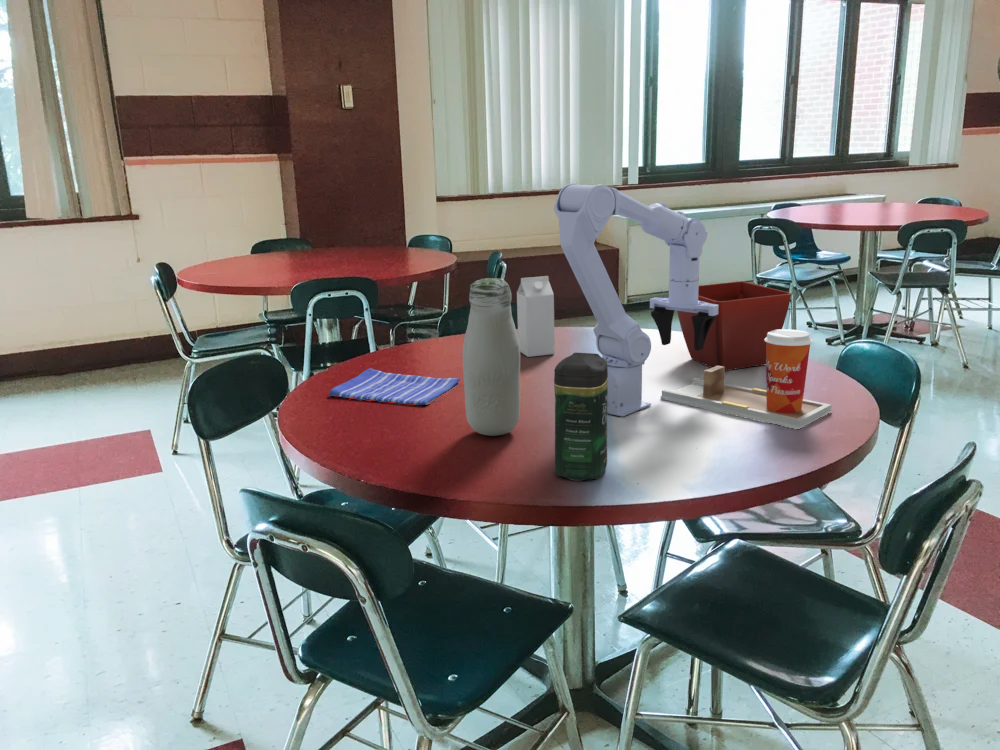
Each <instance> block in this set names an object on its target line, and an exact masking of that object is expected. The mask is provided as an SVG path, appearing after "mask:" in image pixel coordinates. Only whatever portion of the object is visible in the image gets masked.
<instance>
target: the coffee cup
mask: <svg viewBox="0 0 1000 750" xmlns="http://www.w3.org/2000/svg"><path fill="white" fill-rule="evenodd" d="M764 340H765V342H766V365H765V366H766V368H765V369H766V372H765V374H766V375H765V379H766V383H765V384H766V385H765V386H766V389H765V390H766V400H767V409H769V410H770V411H773V412H778V413H797V412H799V411H801V408H802V402H803V399H804V395H805V394H804V393H805V385H806V378H807V370H808V365H809V357H810V356H809V355H810V350H811V349H810V348H811V345H812V344H813V343H814V341H813V339H812V338H811V336H810V333H809V332H808V331H805V330H800V329H799V330H798V329H788V328H782V329H778V330H773V331H770V332H768V333H767V337H766V338H765V339H764Z"/></svg>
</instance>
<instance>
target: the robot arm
mask: <svg viewBox="0 0 1000 750" xmlns="http://www.w3.org/2000/svg"><path fill="white" fill-rule="evenodd" d="M553 210H554V213H555V214H556V217H557V219H558V227H559V228H558V230H559V241H560V242H559V243H560V246H561V250H562V252H563V254H564V256H565V258H566V260H567V262H568V264H569V266H570V268H571V271H572V272H573V274H574V276H575V279H576V281H577V283H578V285H579V287H580V289H581V291H582V293H583V295H584V297H585V299H586V301H587V303H588V305H589V308H590V310H591V311H592V314H593V316H594V318H595V320H596V322H597V323H596V324H595V325H594V328H593V333H594V336H595V344H596V349H597V351H598V352H599V353H600V354H601V355H602V356H601V357H602V358H603V359H605V360H606V362H607V364H608V367H607V368H608V395H607V414H609V415H614V416H618V417H625V416H628V415H630V414H632V413H634V412H638V411H640V410H642V409H645V408H648V407H650V406H651V405H652V402H648V401H644V400H643V399H642V398H643V365H645V364H646V363H645V361H646V360H647V359H648V358H649V356H650V354H651V352H652V341H651V338H650V336H649V335H648V334H647V333H646V332H644V331H643V330H642V329H641V327H640V324H639V323H638V322H637V321H636V320H634V319H633V318H632V317H630V316H629V315H628V314H627V312H626V311H625V308H624V306H623V304H622V302H621V299H620V297H619V296H618V293H617V292H616V289H615V287H614V285H613V283H612V281H611V278H610V276H609V274H608V271H607V269H606V267H605V264H604V263H603V261H602V258H601V256H600V254H599V252H598V249H597V248H596V245H595V241H596V239H598V238H599V236H600V234H601V232H602V231H603V230H604V228H605V226H606V225H607V223H608V222H609V220H610V218H611V217H612V216H613V215H614V216H615V215H619V216H621V217H624V218H626V219H629V220H632V221H634V222H636V223H640V227H641V230H642V232H644V233H646V234H648V235H651V236H653V237H656V238H658V239H660V240H663V241H664V242H665V243H664V244H666V246H668V247H669V267H668V268H669V271H668V274H669V275H668V297H652V298H649V309H654V310H653V311H651V312H650V316H651V318H652V319H653V321H654V323H655V325H656V327H657V329H658V334H659V337H660V341H661V345H663V346H666V345H669V344H671V341H672V324H673V319H674V315H675V312H677V311H684V312H692V313H698V315H695V316H692V321H693V326H694V348H695V350H697V351H698V350H701V349H703V347H704V343H705V339H706V336H707V334H708V331H709V329H710V327H711V325H712V323H713V322H714V320H715V318H716V315H718V307H719V305H716V304H710V303H706V302H702V301H698V290H699V286H700V283H699V282H700V257H701V256H702V254H703V247H704V245H705V243H706V241H707V238H708V231H707V230H706V228H705V225H704V224H703V222H702V221H701V220H700V219H698V218H695V217H694V218H693V217H686V215H685V214H686V213H685V212H683V211H675V210H672V209H670V208H669V204H668V203H666V202H658V203H657V202H656V203H651V204H650V205H646V204H645V203H642V202H641V201H639V200H637V199H635V198H633V197H632V196H630V195H627V194H626V193H624V192H621V191H619V190H618V189H617V188H615V187H610V186H607V185H606V184H595V185H594V184H592V185H591V184H577V183H567V184H565V185H564V186H562V188H561V189H560V190H559V192H558V194H557V198H556V200H555V204H554V206H553Z"/></svg>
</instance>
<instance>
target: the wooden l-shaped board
mask: <svg viewBox="0 0 1000 750" xmlns="http://www.w3.org/2000/svg"><path fill="white" fill-rule="evenodd" d="M725 372H726V370H725V367H723V366H715V367H712V368H711V367H710V368H707V369H704V370H703V379H704V383H703V393H702V394H700V395H698V396H697V397H702V398H706V399H711V400H716V401H720V402H723V401H727V402H732V403H736V404H741V405H746V406H749V408H752V409H757V410H761V411H766V412H771V413H775V414H780V415H784V416H789V417H794V418H799V417H801V416H803V415H805V414H807V413H809V412H811V411H813V410H815V409H817V408H819V407H817V406H812V405H807V404H802V408H801V411H799V412H797V413H778V412H773V411H770V410H769V409H767V400H766V396H763V395H758V394H753V393H748V392H743V391H738V390H733V389H729V388H724V383H725Z"/></svg>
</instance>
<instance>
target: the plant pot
mask: <svg viewBox="0 0 1000 750" xmlns="http://www.w3.org/2000/svg"><path fill="white" fill-rule="evenodd" d="M791 298H792V293H791V292H788V291H784V290H781V289H780V290H779V289H775V288H772V287H768V286H763V285H759V284H756V283H752V282H747V281H733V282H721V283H710V284H703V285H699V290H698V301H702V302H706V303H710V304H716V305H719V307H718V315H716V318H715V320H714V322H713V323H712V325H711V327H710V329H709V331H708V334H707V336H706V339H705V343H704V347H703V349H701V350H698V351H697V350H695V348H694V326H693V321H692V316H695V315H698V313H692V312H684V311H676V312H677V316H678V320H679V325H680V328H681V332H682V335H683V339H684V342H685V344H686V347H687V350H688V351H687V352H688V353H689V356H690V358H691V360H692V361H693V360H694V361H696V362H698V363H700V364H703V365H705V366H706V367H710V368H712V367H715V366H723V367H725V371H731V370H730V369H732V370H736V369H735V368H739V369H745V368H744V367H747V368H752V367H751V366H754V367H758V366H757V365H761V366H765V365H764V364H766V342H765V340H764V339H765V338H766V337H767V333H768V332H770V331H773V330H778V329H784V324H785V322H786V318H787V315H788V311H789V307H790V302H791Z"/></svg>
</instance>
